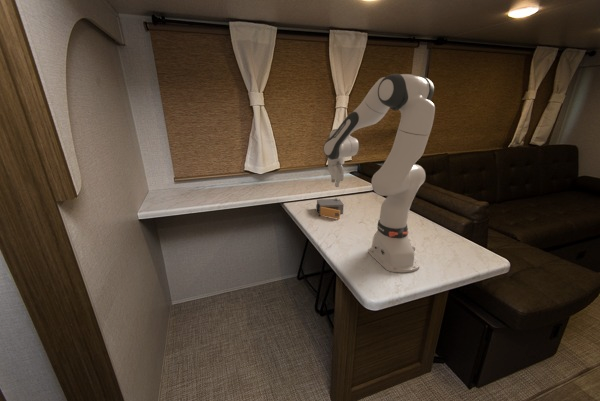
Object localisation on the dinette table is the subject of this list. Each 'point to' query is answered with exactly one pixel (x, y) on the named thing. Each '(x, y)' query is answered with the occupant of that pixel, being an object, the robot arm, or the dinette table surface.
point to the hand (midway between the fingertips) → (334, 184)
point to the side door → (329, 212)
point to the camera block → (330, 204)
